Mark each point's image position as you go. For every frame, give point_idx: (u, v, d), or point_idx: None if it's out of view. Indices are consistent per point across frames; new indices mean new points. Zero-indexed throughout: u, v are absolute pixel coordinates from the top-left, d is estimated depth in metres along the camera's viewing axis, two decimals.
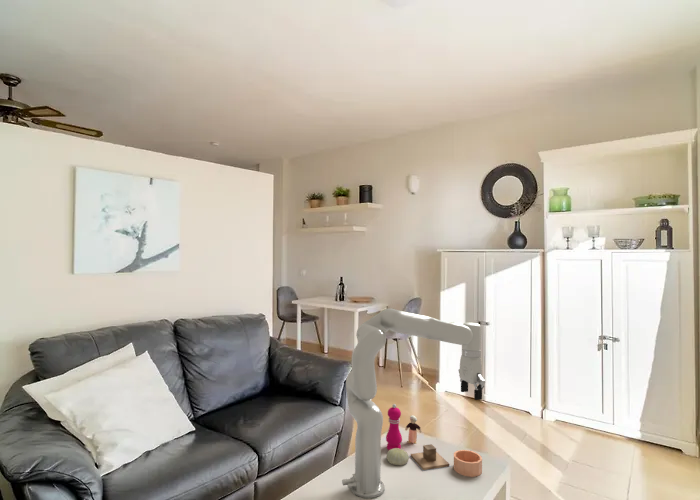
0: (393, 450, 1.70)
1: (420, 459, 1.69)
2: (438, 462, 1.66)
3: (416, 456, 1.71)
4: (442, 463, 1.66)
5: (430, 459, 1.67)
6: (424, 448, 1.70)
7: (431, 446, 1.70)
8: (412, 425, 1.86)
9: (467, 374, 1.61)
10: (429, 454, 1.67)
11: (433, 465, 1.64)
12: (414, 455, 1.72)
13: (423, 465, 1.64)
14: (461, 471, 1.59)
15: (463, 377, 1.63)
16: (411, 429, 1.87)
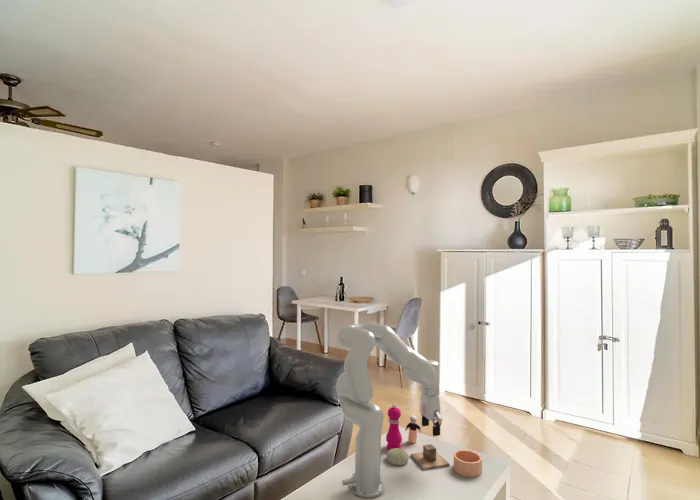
0: (393, 450, 1.70)
1: (420, 459, 1.69)
2: (438, 462, 1.66)
3: (416, 456, 1.71)
4: (442, 463, 1.66)
5: (430, 459, 1.67)
6: (424, 448, 1.70)
7: (431, 446, 1.70)
8: (412, 425, 1.86)
9: (426, 411, 1.68)
10: (429, 454, 1.67)
11: (433, 465, 1.64)
12: (414, 455, 1.72)
13: (423, 465, 1.64)
14: (461, 471, 1.59)
15: (423, 413, 1.71)
16: (411, 429, 1.87)
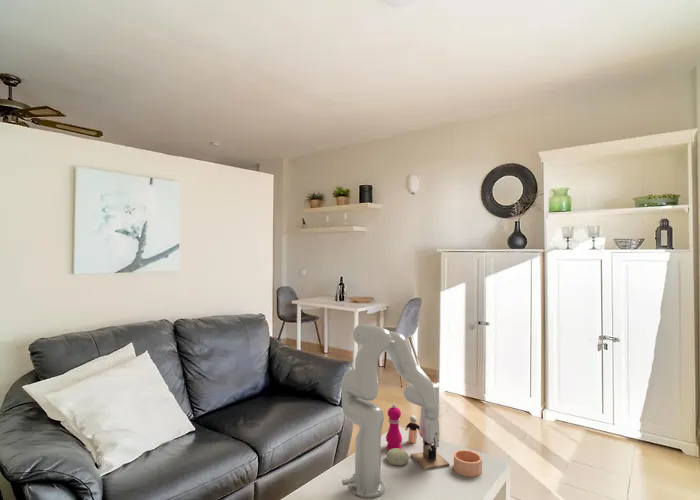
0: (393, 450, 1.70)
1: (420, 459, 1.69)
2: (438, 462, 1.66)
3: (416, 456, 1.71)
4: (442, 463, 1.66)
5: (430, 459, 1.67)
6: (424, 448, 1.70)
7: None
8: (412, 425, 1.86)
9: (425, 433, 1.67)
10: None
11: (433, 465, 1.64)
12: (414, 455, 1.72)
13: (423, 465, 1.64)
14: (461, 471, 1.59)
15: (422, 435, 1.70)
16: (411, 429, 1.87)
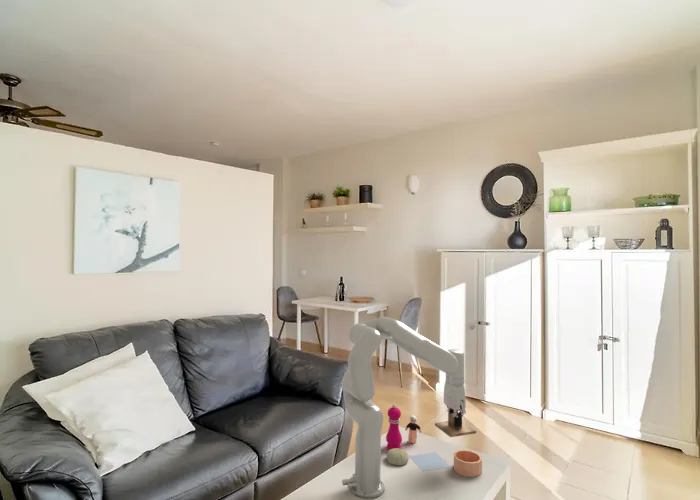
0: (393, 450, 1.70)
1: (445, 427, 1.65)
2: (464, 429, 1.63)
3: (440, 424, 1.68)
4: (468, 430, 1.62)
5: (456, 427, 1.64)
6: (449, 416, 1.66)
7: None
8: (412, 425, 1.86)
9: (451, 401, 1.64)
10: None
11: (460, 432, 1.61)
12: (439, 424, 1.69)
13: (450, 432, 1.60)
14: (461, 471, 1.59)
15: (447, 403, 1.66)
16: (411, 429, 1.87)
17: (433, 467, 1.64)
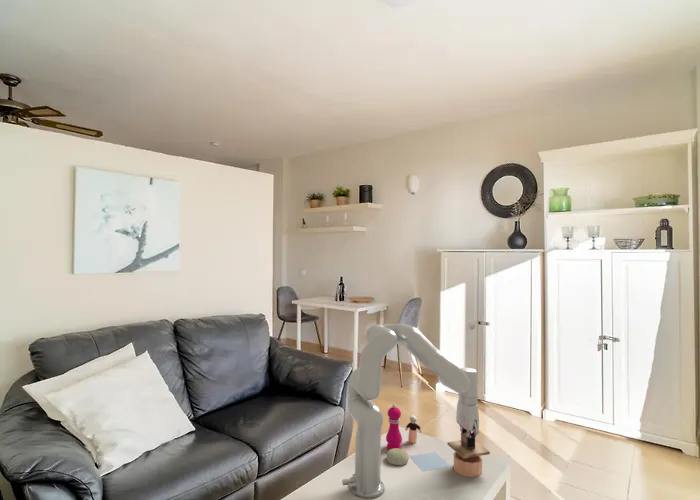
0: (393, 450, 1.70)
1: (458, 447, 1.63)
2: (478, 450, 1.61)
3: (453, 444, 1.65)
4: (482, 451, 1.60)
5: (469, 447, 1.62)
6: (462, 436, 1.64)
7: None
8: (412, 425, 1.86)
9: (464, 420, 1.61)
10: None
11: (473, 453, 1.58)
12: (451, 443, 1.66)
13: (463, 453, 1.58)
14: (461, 471, 1.59)
15: (460, 423, 1.64)
16: (411, 429, 1.87)
17: (433, 467, 1.64)
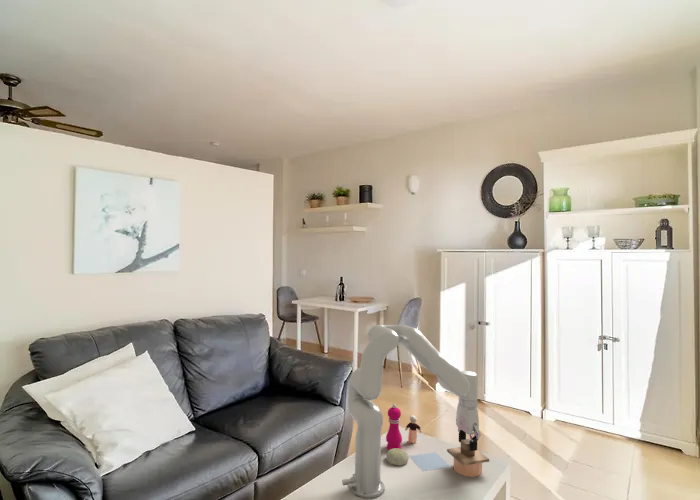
0: (393, 450, 1.70)
1: (458, 454, 1.63)
2: (477, 457, 1.60)
3: (453, 451, 1.65)
4: (481, 458, 1.60)
5: (469, 454, 1.61)
6: (462, 443, 1.64)
7: (469, 441, 1.64)
8: (412, 425, 1.86)
9: (464, 424, 1.61)
10: (468, 449, 1.61)
11: (473, 460, 1.58)
12: (451, 450, 1.66)
13: (462, 460, 1.58)
14: (461, 471, 1.59)
15: (460, 426, 1.64)
16: (411, 429, 1.87)
17: (433, 467, 1.64)
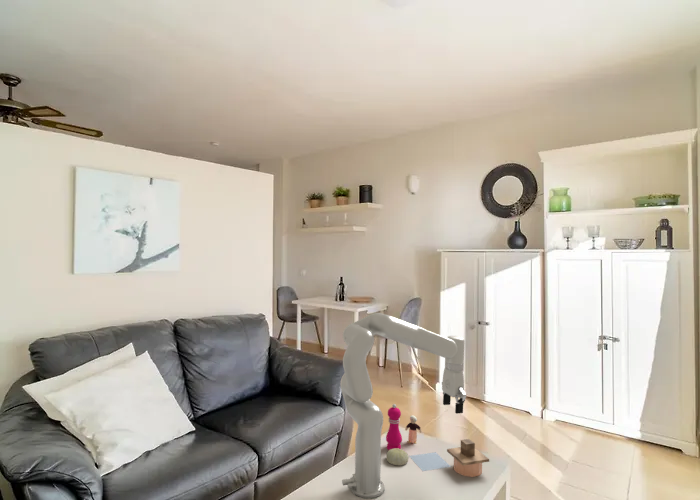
0: (393, 450, 1.70)
1: (458, 454, 1.63)
2: (477, 457, 1.60)
3: (453, 451, 1.65)
4: (481, 458, 1.60)
5: (469, 454, 1.61)
6: (462, 443, 1.64)
7: (469, 441, 1.64)
8: (412, 425, 1.86)
9: (449, 387, 1.62)
10: (468, 449, 1.61)
11: (473, 460, 1.58)
12: (451, 450, 1.66)
13: (462, 460, 1.58)
14: (461, 471, 1.59)
15: (445, 390, 1.64)
16: (411, 429, 1.87)
17: (433, 467, 1.64)
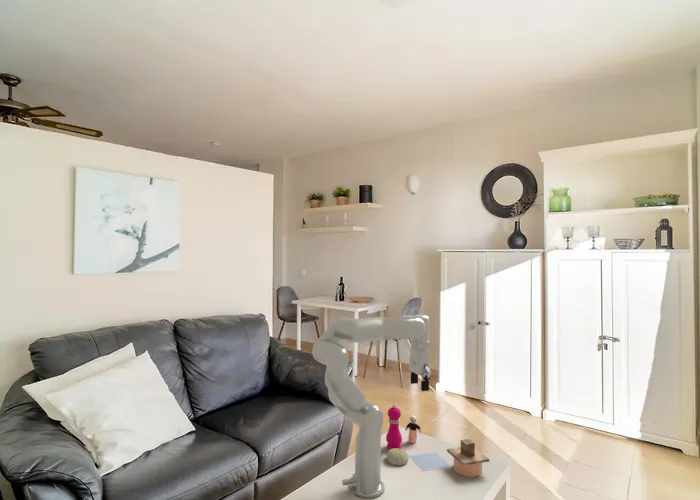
0: (393, 450, 1.70)
1: (458, 454, 1.63)
2: (477, 457, 1.60)
3: (453, 451, 1.65)
4: (481, 458, 1.60)
5: (469, 454, 1.61)
6: (462, 443, 1.64)
7: (469, 441, 1.64)
8: (412, 425, 1.86)
9: (415, 365, 1.62)
10: (468, 449, 1.61)
11: (473, 460, 1.58)
12: (451, 450, 1.66)
13: (462, 460, 1.58)
14: (461, 471, 1.59)
15: (412, 369, 1.65)
16: (411, 429, 1.87)
17: (433, 467, 1.64)
